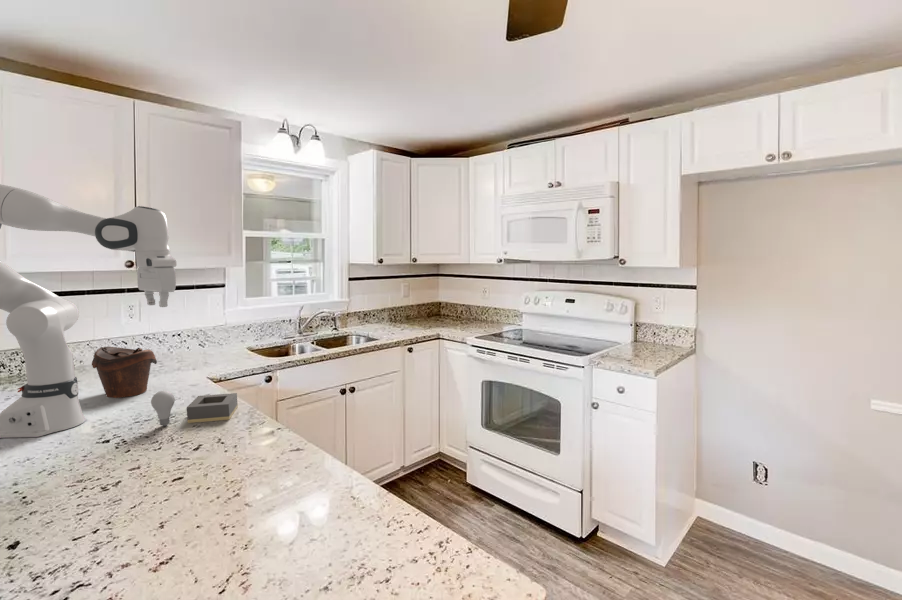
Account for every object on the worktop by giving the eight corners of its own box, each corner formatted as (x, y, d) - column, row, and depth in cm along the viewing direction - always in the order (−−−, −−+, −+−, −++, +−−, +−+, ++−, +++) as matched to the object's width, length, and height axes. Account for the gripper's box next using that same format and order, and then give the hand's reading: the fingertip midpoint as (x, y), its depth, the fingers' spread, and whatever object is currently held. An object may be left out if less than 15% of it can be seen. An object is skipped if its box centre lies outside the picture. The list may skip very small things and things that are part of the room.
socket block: (187, 422, 143) (186, 407, 142) (199, 410, 154) (198, 395, 154) (229, 419, 146) (228, 404, 145) (237, 407, 157) (236, 393, 157)
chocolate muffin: (160, 393, 173) (156, 346, 171) (93, 404, 162) (88, 354, 160) (158, 383, 188) (154, 340, 186) (96, 392, 177) (92, 346, 175)
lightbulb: (165, 430, 137) (162, 394, 136) (148, 429, 138) (145, 393, 137) (181, 423, 143) (178, 388, 142) (164, 421, 144) (161, 387, 143)
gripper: (129, 261, 144) (133, 305, 145) (154, 261, 131) (158, 309, 132) (152, 260, 149) (155, 303, 150) (178, 260, 136) (182, 307, 137)
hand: (157, 306), depth 141 cm, fingers open, 8 cm apart
